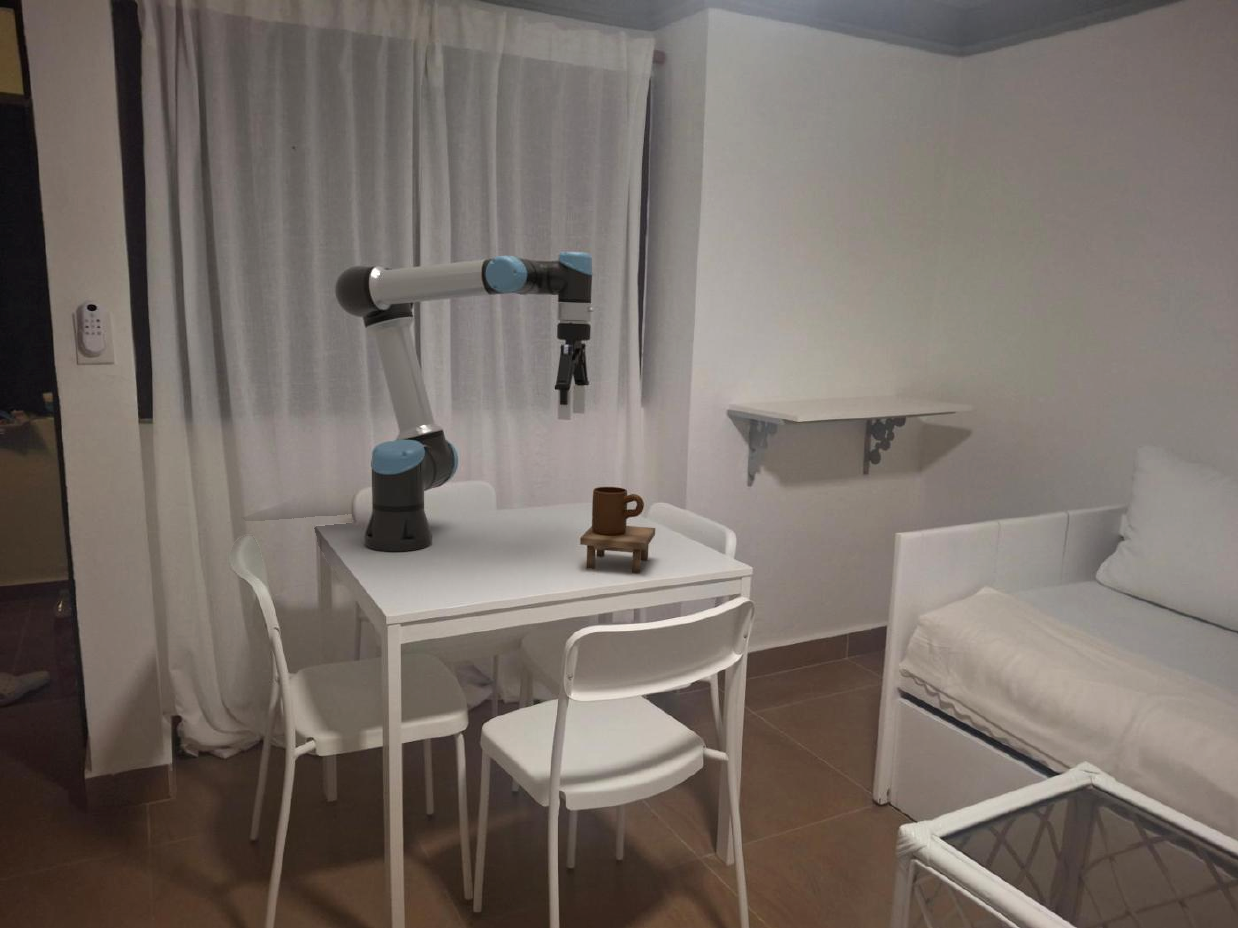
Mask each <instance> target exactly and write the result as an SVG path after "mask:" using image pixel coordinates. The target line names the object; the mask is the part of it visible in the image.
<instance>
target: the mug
mask: <svg viewBox="0 0 1238 928" xmlns="http://www.w3.org/2000/svg"><path fill="white" fill-rule="evenodd" d="M632 502H635V503H636V506H635V508H634V509H633V508H632V509H631V508H630V509H629V508H628V504H629V503H632ZM591 505H592V508H591V509H592V510H591V526H592V530H593V532H595V533H597V534H601V535H620V534H623V533H624V532H625V531H626V526H627V520H628V519H629V518H635V517H638V516H639V515H641V514H642V512H643V510H644V507H645V503H644V500H643V498H642V497H641V496H640V495H638V494H635V493H631V494H628V490H627V489H626V488H624V487H623V488H622V487H619V486H617V487H616V486H598V487H596V488H594V489H593V492H592V504H591Z"/></svg>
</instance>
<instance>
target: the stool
mask: <svg viewBox="0 0 1238 928" xmlns="http://www.w3.org/2000/svg"><path fill="white" fill-rule="evenodd" d="M655 535H656V527H648V526H647V527H646V526H635V525H626V531H625V532H624V533H623V534H620V535H601V534H597V533H595V532H593V530H592V525H591V526H590V528H588V529H587V530H586V531H585V533H584V534H582V536H580V539H579V545H581V546H586V569H589V570H593V569H594V570H595V568H596V557H597V558H605V551H607V552H608V551H609V552H621V553H622V552H623V553H632V564H631V565H632V566H631V572H632V573H633V574H640V573H641V572H642V571H641V568H642V567H641V566H642V565H641V564H642V561H643V562H646V561H648V560H649V547H650V546H649V545H650V544H651V542H652V540H653V539H654V537H655Z"/></svg>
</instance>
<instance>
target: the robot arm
mask: <svg viewBox="0 0 1238 928" xmlns="http://www.w3.org/2000/svg"><path fill="white" fill-rule="evenodd" d="M593 276H594V274H593V259H592V256H591V254H589V253H587V252H582V251H561V252H559V254H558V257H557V260H550V261H549V260H532V259H527V258H520V257H515V256H512V255H500V256H499V255H498V256H495V257H494V258H489V259H477V260H469V261H459V262H458V261H457V262H449V263H441V264H440V263H439V264H432V265H431V264H430V265H421V266H413V267H412V266H411V267H402V268H395V269H394V268H393V269H392V268H389V267H383V266H379V265H377V266H365V265H363V266H362V265H355V266H352V267H348V268H347V269H345V270H344V271H343V272H342V273H341V274H340V275H339V276H338V278H337V280H336V282H335V286H334V287H335V288H334V291H335V298H336V300H337V302H338V304H339V306H340V307H341V309H342V310H344V311H345V312H346V313H347V314H349V315H351V316H355V317H358V318H362V321H363V324H364V328H365V331H366V332H369V333H371V334H372V335H373V336H374V340H375V341H374V342H375V344H376V348H377V351H378V355H379V359H380V363H381V367H382V370H383V374H384V377H385V378H384V379H385V382H386V386H387V388H388V389H387V390H388V394H389V396H390V397H389V398H390V400H391V405H392V408H393V412H394V415H395V419H396V423H397V428H398V431H399V432H398V434H397V436H396V438H395V439H394V440H392V441H391V440H390V441H389V440H388V441H384V442H382V443H379V444H377V445H376V446H374V448H373V449H372V453H371V461H370V466H371V502H372V507H371V508H372V511H371V515H370V518H369V522H368V523H367V527H366V529H365V533H364V545H365V546H366V547H367V548H368V549H372V550H375V551H380V552H407V551H408V552H409V551H416V550H419V549H420V550H421V549H424V548H427V547H430V546H431V544H432V543H433V533H432V530H431V527H430V523H429V520H428V517H427V515H426V513H425V492H426V491H428V490H429V491H430V490H431V489H436V488H440V487H441V486H443V485H444V484H446V483H448V482H449V481H450V480H452V478H453V477H454V476H455V474H456V472H457V470H458V466H459V455H458V452H457V450H456V447H455V446H454V445H453V444H452V443H451V442H450V441H449V440H448V439H446V435H445V434H444V432H445V431H444V429H443V428H442V427H441V426H439V425H438V424H437V423H435V419H434V416H433V412H432V409H431V403H430V401H429V396H428V393H427V390H426V385H425V382H424V377H423V372H422V370H421V366H420V363H419V359H418V355H417V351H416V347H415V343H414V339H413V336H412V331H411V328H410V327H411V325H412V323H413V322H414V318H415V317H414V315H413V308H414V305H415V303H419V302H420V303H421V302H430V301H441V300H448V299H451V300H452V299H460V298H461V299H463V298H470V297H471V298H472V297H481V296H490V295H491V296H492V295H503V294H516V295H517V294H518V295H523V296H524V295H525V296H526V295H537V296H538V295H540V296H541V295H547V296H548V295H550V296H551V295H552V296H556V295H557V314H556V315H557V317H556V318H557V321H559V322H558V324H557V325H556V326H557V327H556V338H557V340H560V341H565V343H564V344H561V345H560V353H559V361H558V362H559V363H558V370H557V376H556V382H555V385H554V390H557V391H558V396H557V397H558V401H557V403H558V404H557V420H563V421H564V420H565V421H566V420H567V421H571V415H572V414H585V412H586V411H585V409H586V408H585V407H586V386H589V385H590V381H589V378H588V367H587V357H586V343H583V342H585V341H587V342H588V341H590V339H591V328H592V327H591V325H590V323H588V322H591V319H592V318H591V317H592V315H591V313H593V312H594V308H593V307H592V291H593V289H592V288H593ZM582 341H583V342H582ZM572 380H573V381H574V385H573V390H571V385H572V382H573V381H572ZM572 393H573V394H572ZM571 412H572V413H571Z"/></svg>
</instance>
